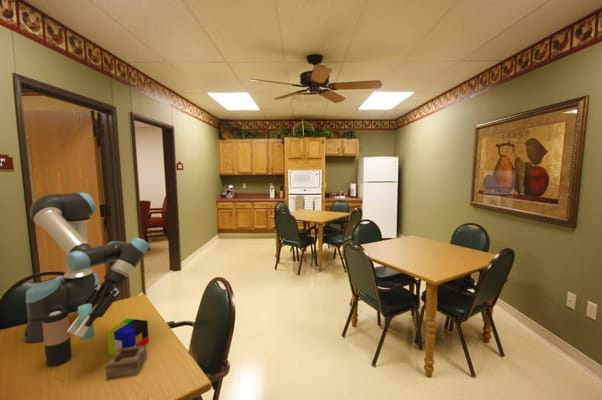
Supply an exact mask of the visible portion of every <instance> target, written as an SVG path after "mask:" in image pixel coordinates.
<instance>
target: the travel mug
mask: <svg viewBox="0 0 602 400" xmlns="http://www.w3.org/2000/svg"><path fill="white" fill-rule="evenodd" d="M42 324H43V336H44V341H43V346H44V352H45V359H46V364H47V365H46V366H47V367H49V368H54V367H59V366H62V365H64V364H65V363H67V362H68V361H70V359H71V358H72V343H71V342H72V341H71V333H70V332H67V330H68V329H69V328H70V326H71V325H70V316H69V309H68V308H65V307H62V308H56V309H53V310H50V311H47V312H45V313H44V314H43V315H42Z"/></svg>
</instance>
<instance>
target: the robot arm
mask: <svg viewBox="0 0 602 400" xmlns="http://www.w3.org/2000/svg"><path fill="white" fill-rule="evenodd" d="M95 212H96V203H95V200H94V199H93V197H92V196H91V195H90V194H89V193H85V192H69V193H55V194H54V193H51V194H50V193H49V194H45V195H43V196H40V197H39V198H37V199H36V200H34V201H33V203H32V204H31V206H30V208H29V215H30V219H32V220H31V221H33V223H35V224H36V225H37V226H39V227H42V228H43V229H44V230H45V231H46V233H48V234H49V236H50V237H52V239H53V241H55V242H56V243H57V244H58V245H59V246H60V248H61V249H62V250H63V251H64V252H65V263H66V272H65V273H64V274H63V276H62V277H63V280H60V279H51V280H46V281H42V282H39V283H37V284H35V285H32V286H31V287H30V288H28V289H27V290H26V293H25V303H26V304H25V305H26V312H27V313H26V314H27V325H26V327H25V329H24V330H25V331H24V335H23V340H24V342H26V343H29V342H33V343H40V342H44V336H43V324H42V315H43V314H44V313H45V312H47V311H50V310H53V309H56V308H63V306H66V305H69V304H72V303H76V302H78V301H80V300H83V299H84V301H83V302H82V304H81V305H84V304H92V313H91V314H89V316H87V318H86V319H85V320H84V322H83V323H82V324H81V326H80V327H79V317H78V316H77V317H76V318H75V319H74V321H73V323H72V324H71V325H69V326H70V328H69V329H68V330H67V332H70V334H73V335H75V336H78V337H80V336H81V337H83V335H84V334H85V332H86V331H87V330H88V328H89V327H90V326H91V325H92V323H93V324H94V322H95V320H96V319H98V318H103V316H105V314H106V312H107V311H108V309H109V308H110V307H111V305H112V304H113V303H114V301H115V300H116V299H117V298H118V296H120V295H121V291H118V290H119V287H122V286H124V284H125V283H126V281H127V280H128V277H129V276H131V274H132V273H133V271H134V270H135V269H136V267H137V266H138V264H139V263H140V262H141V260H142V259H143V257H144V256H145V255H146V253H147V251H148V250H149V248H150V244H149V243H148V242H147V241H146V240H144V239H143V238H139V237H134V238H132V239H131V240H130V242H124V241H119V240H115V241H110V242H108V243H107V244H104V245H100V246H99V245H98V246H92V245H90V244H89V242H88V241H89V239H88V222H89V221H90V220H91V216H93V215H94V214H95ZM111 262H114V263H113V264H112V266H111V267H110V269H109V270H108V271H107V272H106V274H105V275H104V276H103V280H104V281H103V282H101V284H100V278H99V276H98V274H97V273H95V272H94V270H93V269H92V268H93V267H96V266H99V265H104V264H107V263H111Z"/></svg>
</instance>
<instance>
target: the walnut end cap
mask: <svg viewBox="0 0 602 400" xmlns="http://www.w3.org/2000/svg"><path fill="white" fill-rule="evenodd" d="M147 357H148V356H147V344H146V345H143V346H135V347H128V348H121V349H117V351H116V352H115V354H114V355H111V358H110V359H109V360H108V363H106V365H105V366H104V367H105V378H106V380H113V379H118V378H125V377H131V376H137V375H139V373H140V371H141V370H142V368H143V366H144V363H145V362H146V359H147Z"/></svg>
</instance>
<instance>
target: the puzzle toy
mask: <svg viewBox="0 0 602 400" xmlns="http://www.w3.org/2000/svg"><path fill="white" fill-rule="evenodd" d="M106 332H107V344H108V345H107V347H108V355H111V356H113V355H114V354H115V352H116V351H117V349H121V348H128V347H135V346H143V345H146V346H147V345H148V344H149V343H150V341H149V325H148V320H144V319H135V318H126V319H125V320H123V321H122V322H119V323H118V324H116V325H115V326H114V327H111V329H109V330H107V331H106Z"/></svg>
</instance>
